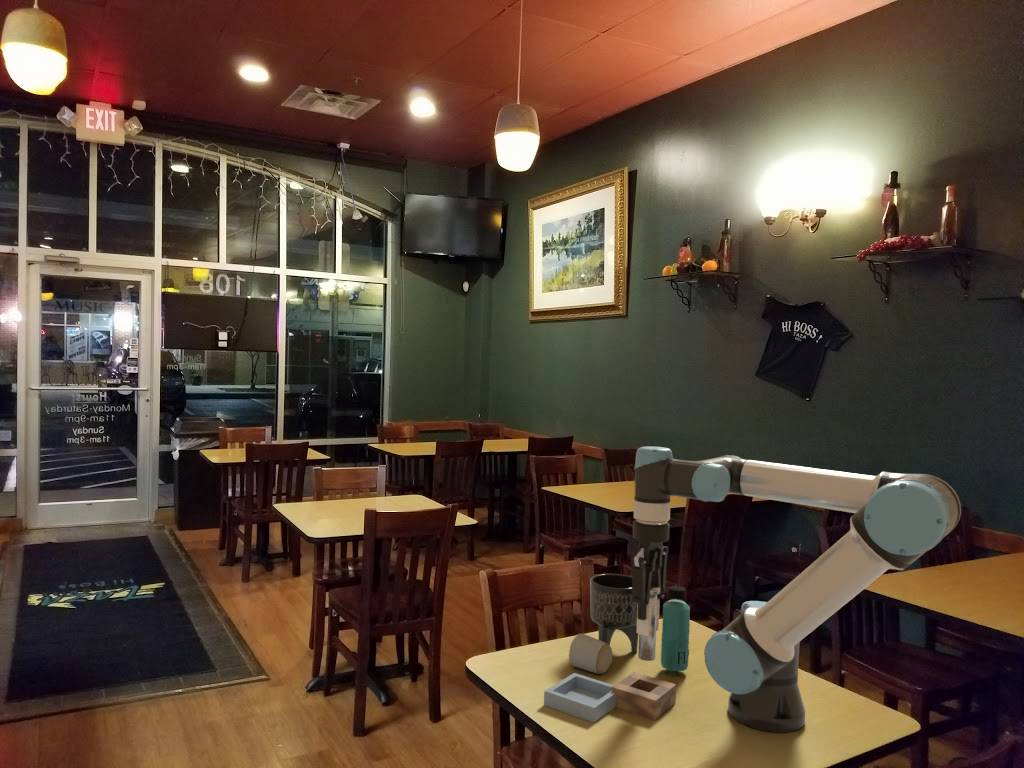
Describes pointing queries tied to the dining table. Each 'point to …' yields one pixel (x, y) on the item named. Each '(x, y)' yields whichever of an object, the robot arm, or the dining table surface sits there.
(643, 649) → the pin
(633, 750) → the dining table surface
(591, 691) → the tray
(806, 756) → the dining table surface
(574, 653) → the ceramic mug
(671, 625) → the beverage bottle
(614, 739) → the dining table surface
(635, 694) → the block
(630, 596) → the planter
